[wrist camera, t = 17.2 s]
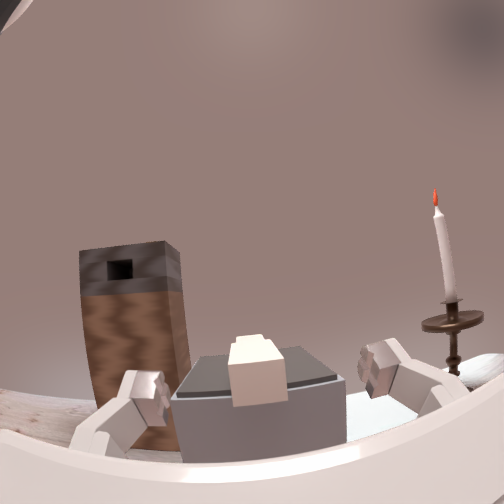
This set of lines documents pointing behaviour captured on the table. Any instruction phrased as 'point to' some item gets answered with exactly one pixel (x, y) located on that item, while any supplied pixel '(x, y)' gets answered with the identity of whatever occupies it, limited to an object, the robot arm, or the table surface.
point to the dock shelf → (258, 413)
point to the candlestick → (450, 299)
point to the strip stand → (135, 323)
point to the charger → (256, 372)
